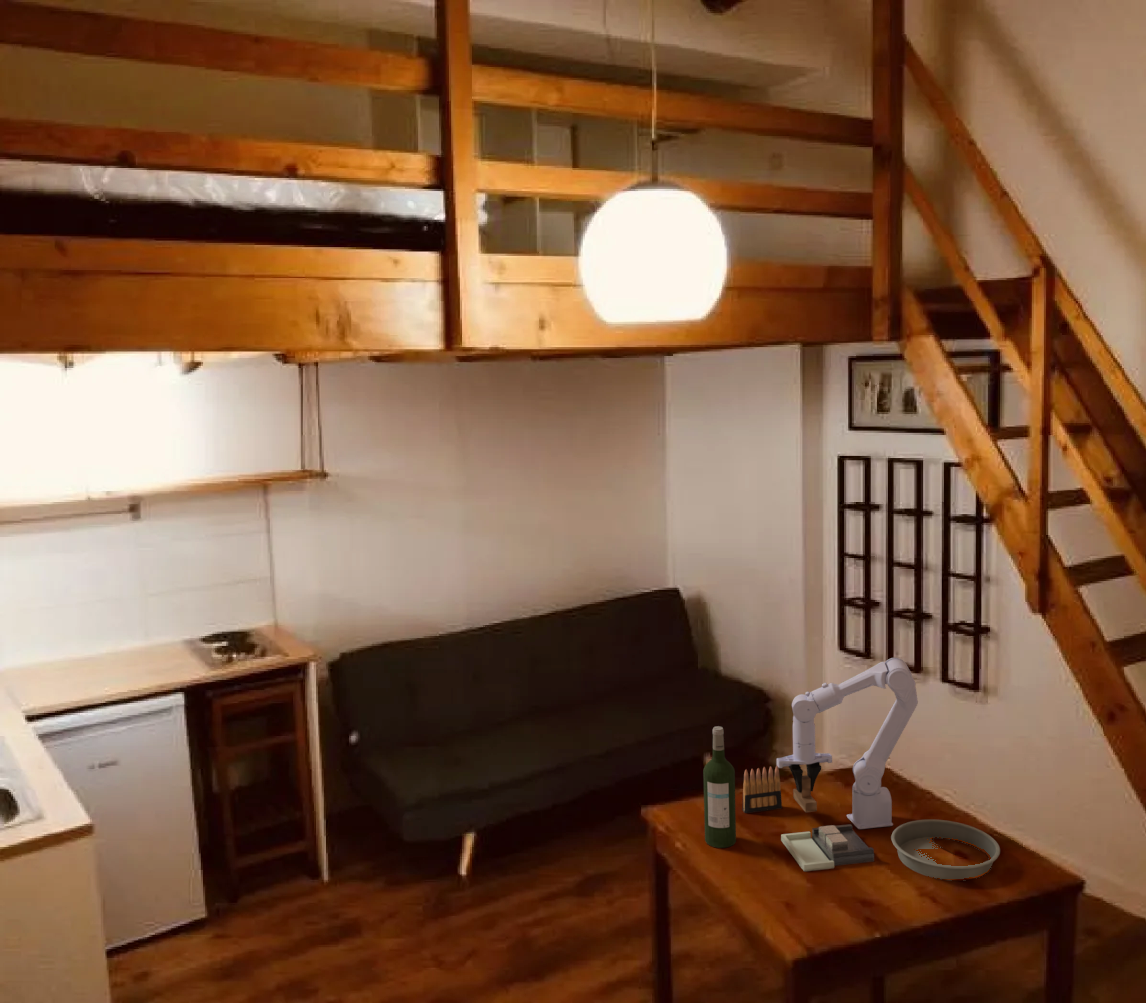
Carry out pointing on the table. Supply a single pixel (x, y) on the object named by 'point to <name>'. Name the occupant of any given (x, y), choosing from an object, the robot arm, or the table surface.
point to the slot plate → (856, 847)
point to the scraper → (805, 796)
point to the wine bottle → (719, 796)
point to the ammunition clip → (761, 791)
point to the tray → (806, 851)
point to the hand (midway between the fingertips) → (804, 790)
